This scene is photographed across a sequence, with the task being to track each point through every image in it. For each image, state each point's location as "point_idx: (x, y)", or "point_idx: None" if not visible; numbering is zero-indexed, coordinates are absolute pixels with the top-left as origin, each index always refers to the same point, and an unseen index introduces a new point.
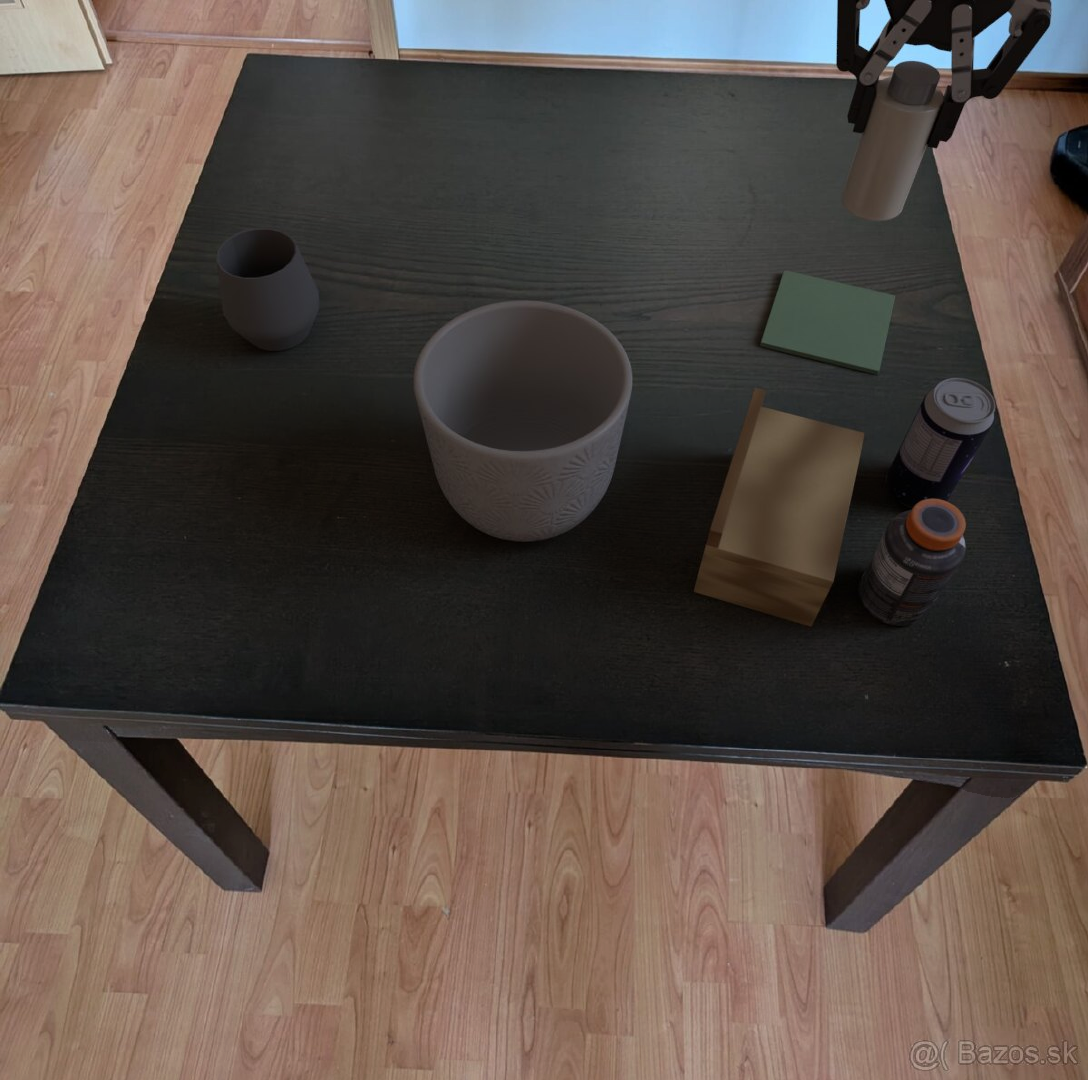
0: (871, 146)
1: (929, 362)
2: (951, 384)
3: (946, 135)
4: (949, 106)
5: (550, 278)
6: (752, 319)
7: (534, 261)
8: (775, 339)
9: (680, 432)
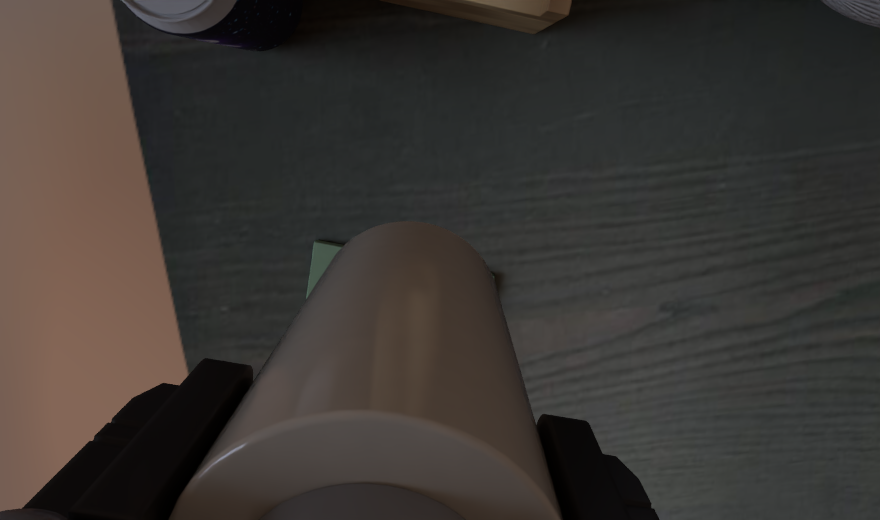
0: (499, 343)
1: (238, 278)
2: (189, 3)
3: (159, 401)
4: (112, 494)
5: (810, 369)
6: None
7: (833, 400)
8: None
9: (620, 70)
